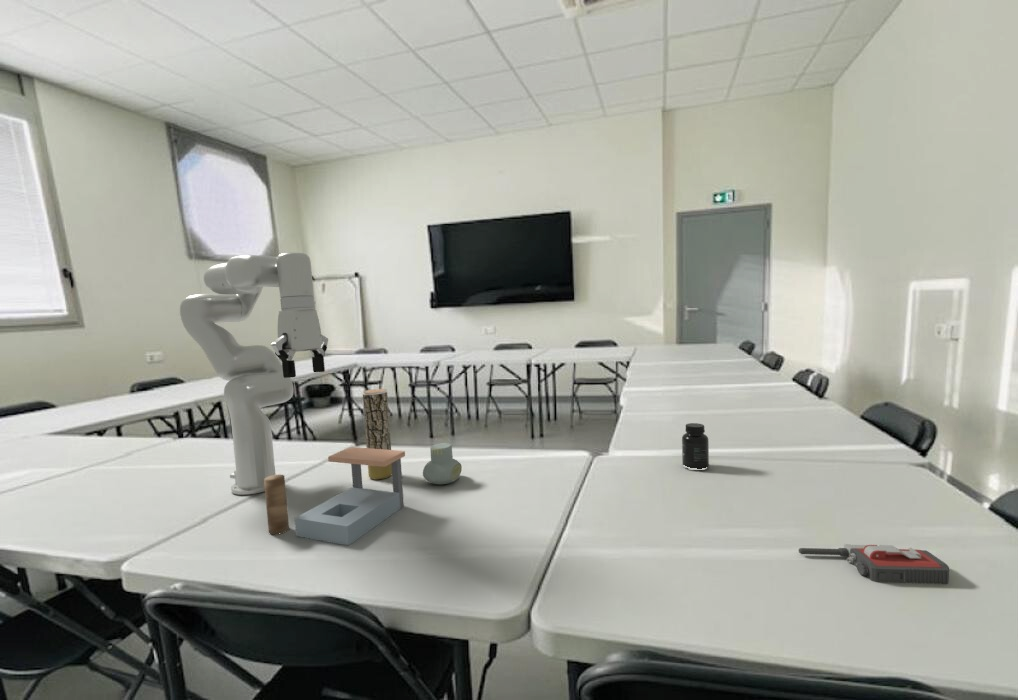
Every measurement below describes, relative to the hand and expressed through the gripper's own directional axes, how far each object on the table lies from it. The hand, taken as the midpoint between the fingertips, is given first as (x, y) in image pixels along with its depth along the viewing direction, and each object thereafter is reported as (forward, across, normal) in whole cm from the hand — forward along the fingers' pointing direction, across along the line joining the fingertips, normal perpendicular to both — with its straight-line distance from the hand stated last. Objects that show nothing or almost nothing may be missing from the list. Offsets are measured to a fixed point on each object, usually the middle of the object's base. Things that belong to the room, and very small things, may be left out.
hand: (305, 374), depth 114 cm
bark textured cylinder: (+33, -21, +4) cm, 39 cm away
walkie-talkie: (+36, 0, +115) cm, 121 cm away
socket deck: (+33, +6, +15) cm, 37 cm away
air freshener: (+34, -21, +24) cm, 46 cm away
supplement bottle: (+35, -46, +90) cm, 107 cm away
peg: (+33, +14, +2) cm, 36 cm away
